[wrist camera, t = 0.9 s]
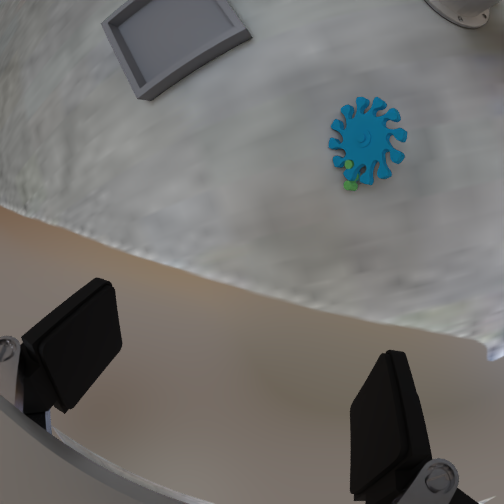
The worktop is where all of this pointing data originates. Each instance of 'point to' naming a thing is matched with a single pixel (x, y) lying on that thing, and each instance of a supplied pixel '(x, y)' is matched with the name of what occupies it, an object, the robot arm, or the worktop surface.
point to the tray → (170, 39)
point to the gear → (366, 142)
